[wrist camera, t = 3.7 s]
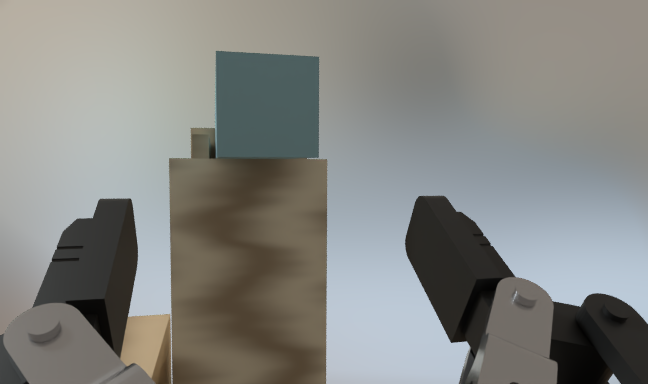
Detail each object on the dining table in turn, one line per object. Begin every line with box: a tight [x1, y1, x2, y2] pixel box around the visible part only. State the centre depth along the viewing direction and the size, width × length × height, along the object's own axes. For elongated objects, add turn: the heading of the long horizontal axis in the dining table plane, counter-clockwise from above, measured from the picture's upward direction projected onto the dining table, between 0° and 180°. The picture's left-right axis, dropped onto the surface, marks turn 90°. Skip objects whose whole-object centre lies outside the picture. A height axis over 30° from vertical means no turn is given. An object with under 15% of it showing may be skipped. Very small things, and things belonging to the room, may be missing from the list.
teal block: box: [215, 51, 319, 159], centre depth 27 cm, size 4×22×4 cm, turn 13°
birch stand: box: [169, 128, 327, 384], centre depth 32 cm, size 8×15×34 cm, turn 13°
